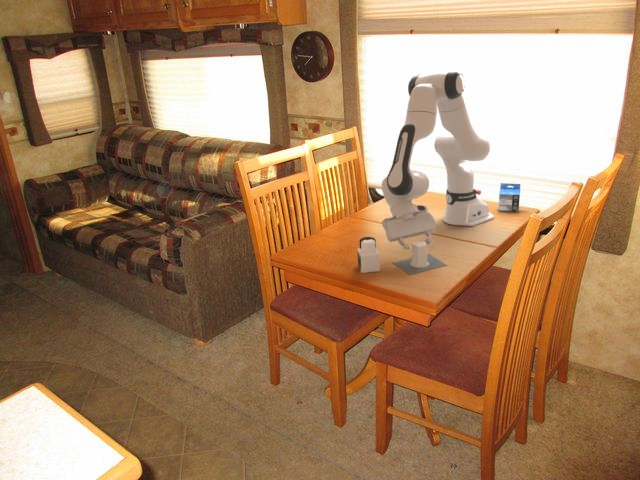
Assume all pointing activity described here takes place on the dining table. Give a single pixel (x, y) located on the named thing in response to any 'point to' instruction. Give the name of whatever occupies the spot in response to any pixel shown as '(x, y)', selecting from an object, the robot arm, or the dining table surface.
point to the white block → (419, 253)
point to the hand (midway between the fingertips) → (418, 246)
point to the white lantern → (368, 255)
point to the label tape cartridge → (509, 197)
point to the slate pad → (412, 268)
